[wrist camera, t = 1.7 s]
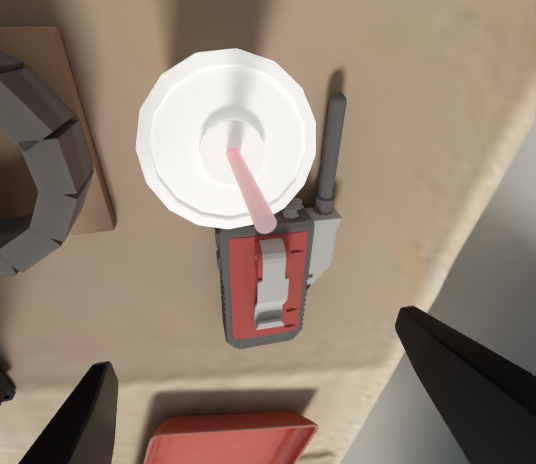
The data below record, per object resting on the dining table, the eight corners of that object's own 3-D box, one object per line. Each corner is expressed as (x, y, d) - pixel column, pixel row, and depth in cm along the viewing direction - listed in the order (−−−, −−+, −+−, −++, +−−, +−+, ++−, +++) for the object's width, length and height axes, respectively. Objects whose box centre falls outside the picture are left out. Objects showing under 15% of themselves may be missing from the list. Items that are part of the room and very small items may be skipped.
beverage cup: (280, 79, 18) (453, 152, 7) (235, 171, 21) (307, 345, 9) (177, 17, 16) (176, -36, 4) (138, 130, 18) (67, 299, 6)
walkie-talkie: (313, 317, 30) (346, 89, 20) (331, 355, 27) (383, 101, 16) (221, 332, 28) (204, 89, 18) (227, 375, 25) (211, 102, 14)
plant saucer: (152, 403, 31) (150, 438, 29) (311, 398, 38) (322, 426, 35) (129, 493, 39) (125, 527, 36) (264, 476, 46) (269, 504, 43)
